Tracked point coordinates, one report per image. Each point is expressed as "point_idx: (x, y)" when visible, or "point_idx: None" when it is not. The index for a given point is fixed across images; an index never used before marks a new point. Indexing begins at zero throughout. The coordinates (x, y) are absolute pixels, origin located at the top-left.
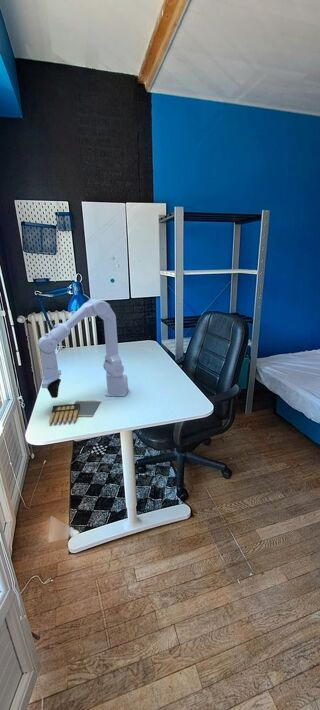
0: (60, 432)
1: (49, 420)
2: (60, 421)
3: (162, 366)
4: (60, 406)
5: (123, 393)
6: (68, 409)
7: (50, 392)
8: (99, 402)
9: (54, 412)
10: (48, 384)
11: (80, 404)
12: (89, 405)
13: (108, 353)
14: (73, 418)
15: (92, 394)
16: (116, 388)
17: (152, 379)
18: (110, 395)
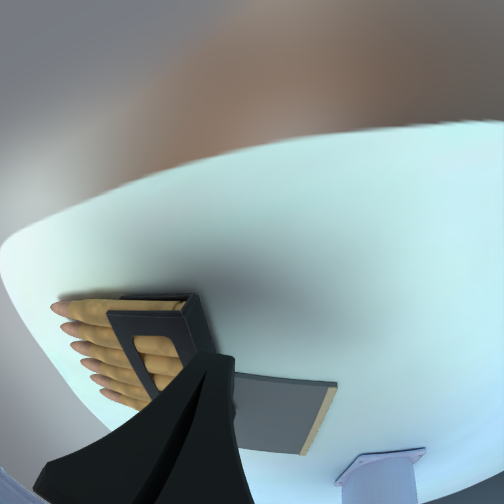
0: (48, 340)
1: (60, 305)
2: (76, 350)
3: (490, 473)
4: (180, 360)
5: (343, 486)
6: (157, 393)
7: (166, 402)
8: (292, 452)
9: (115, 327)
10: (33, 498)
11: (280, 409)
12: (264, 433)
13: None
14: (108, 395)
15: (406, 419)
16: (349, 498)
17: (428, 488)
18: (351, 467)
